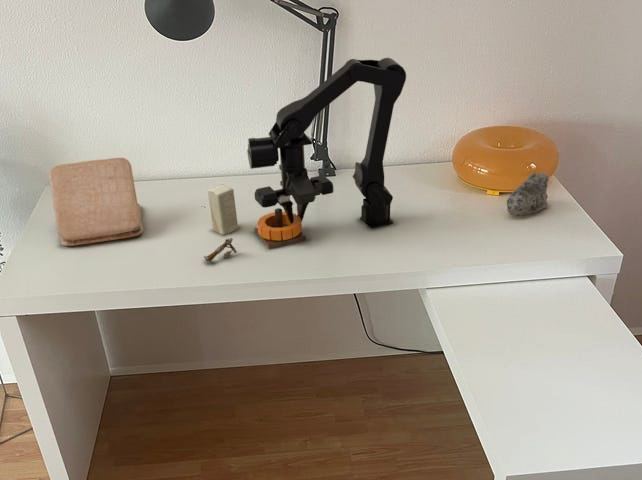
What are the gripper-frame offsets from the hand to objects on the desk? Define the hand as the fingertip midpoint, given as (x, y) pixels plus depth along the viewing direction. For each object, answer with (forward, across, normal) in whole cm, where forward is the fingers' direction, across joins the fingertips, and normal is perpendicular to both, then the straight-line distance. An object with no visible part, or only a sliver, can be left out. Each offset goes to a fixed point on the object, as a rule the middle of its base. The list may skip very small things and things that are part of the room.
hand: (296, 223), depth 189 cm
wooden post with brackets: (+3, -21, -4) cm, 22 cm away
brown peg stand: (+3, -4, 0) cm, 5 cm away
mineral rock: (+3, +58, -16) cm, 60 cm away
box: (+3, -16, +10) cm, 19 cm away
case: (+3, -44, +27) cm, 51 cm away
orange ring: (+1, -4, 0) cm, 5 cm away
